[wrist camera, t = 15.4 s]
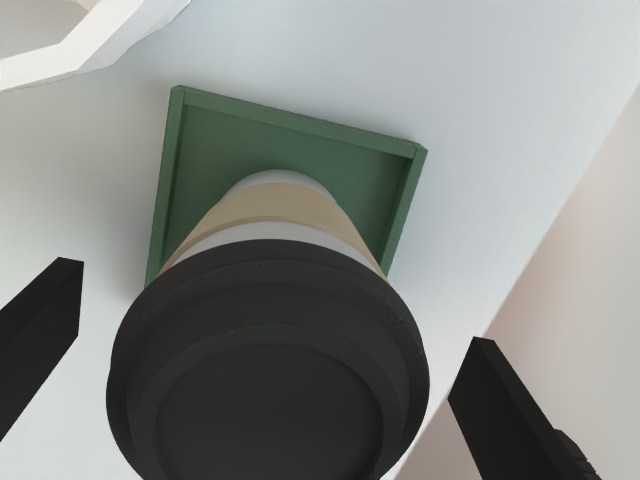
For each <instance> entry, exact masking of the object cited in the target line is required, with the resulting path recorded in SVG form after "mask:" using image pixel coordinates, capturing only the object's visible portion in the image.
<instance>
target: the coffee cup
mask: <svg viewBox="0 0 640 480" xmlns="http://www.w3.org/2000/svg"><path fill="white" fill-rule="evenodd" d="M429 389H430V377H429V368H428V363H427V358H426V355H425V352H424V347H423V342H422V338H421V335H420V332H419V329H418V327H417V324H416V322H415V320H414V318H413V316H412V314H411V312H410V310H409V309H408V307H407V306H406V304H405V303H404V301H403V300H402V299H401V297H400V296H399V295H398V294H397V292H396V291H395V290H394V289H393V288H392V287H391V286H390V285H389V283H388V281H387V279H386V277H385V275H384V273H383V272H382V270H381V269H380V267H379V265H378V264H377V262H376V261H375V259H374V257H373V256H372V254H371V252H370V251H369V249H368V248H367V246H366V244H365V243H364V241H363V240H362V238H361V236H360V235H359V233H358V231H357V230H356V228H355V227H354V225H353V223H352V222H351V220H350V219H349V217H348V216H347V215H346V213H345V212H344V211H343V210H342V209H341V208H340V207H339V206H338V205H337V203H336V201H335V200H334V198H333V196H332V195H331V194H330V193H329V191H328V190H327V189H326V188H325V187H324V186H323V185H322V184H320V183H319V182H318V181H316V180H315V179H313V178H311V177H309V176H307V175H305V174H302V173H300V172H296V171H292V170H285V169H272V170H265V171H261V172H257V173H254V174H251V175H249V176H247V177H245V178H243V179H242V180H240V181H239V182H237V183H236V184H235V185H233V186H232V187H231V188H230V189H229V190H228V191H227V192H226V194H225V195H224V196H223V197H222V199H221V200H220V201H219V202H218V203H217V204H216V205H214V206H213V207H212V208H211V209H210V210H209V211H208V213H207V214H206V215H205V216H204V217H203V218H202V220H201V221H200V222H199V223H198V224H197V226H196V227H195V228H194V229H193V231H192V232H191V233H190V234H189V235H188V237H187V238H186V239H185V240H184V241H183V243H182V244H181V245H180V246H179V247H178V249H177V250H176V251H175V252H174V254H173V255H172V256H171V257H170V258H169V260H168V261H167V262H166V263H165V264H164V266H163V267H162V269H161V270H160V271H159V273H158V275H157V276H156V278H155V280H154V281H152V282H151V283H150V284H149V285H148V286H147V287H146V288H145V289H144V290H143V291H142V292H141V294H140V295H139V296H138V297H137V298H136V300H135V301H134V302H133V304H132V305H131V307H130V308H129V309H128V311H127V313H126V315H125V316H124V318H123V320H122V322H121V325H120V327H119V329H118V332H117V334H116V337H115V341H114V344H113V349H112V355H111V365H110V372H109V376H108V381H107V388H106V409H107V416H108V421H109V425H110V428H111V431H112V434H113V437H114V439H115V441H116V444H117V445H118V447H119V449H120V451H121V453H122V454H123V456H124V457H125V459H126V460H127V462H128V463H129V464H130V465H131V467H132V468H133V469H134V470H135V471H136V472H137V474H138V475H139V476H140V477H141V478H142V479H143V480H380V478H381V477H382V476H383V475H384V474H386V473H387V472H388V471H389V470H390V469H391V468H392V467H393V466H394V465H395V464H396V463H397V461H398V460H399V459H400V458H401V457H402V456H403V454H404V453H405V452H406V450H407V449H408V448H409V446H410V445H411V443H412V441H413V440H414V438H415V436H416V435H417V433H418V431H419V428H420V426H421V424H422V421H423V419H424V416H425V412H426V409H427V404H428V399H429Z"/></svg>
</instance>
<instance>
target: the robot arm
mask: <svg viewBox="0 0 640 480" xmlns="http://www.w3.org/2000/svg"><path fill="white" fill-rule="evenodd" d="M83 269H84V262H83V261H78V260H72V259H67V258H62V257H58V258H57V259H56V260H55V261H53V262H52V263H51V264H50V265H49V266H48V267H47V268H46V269H45V270H44V271H43V272H42V273H40V274H39V275H38V276H37V277H36V278H35V279H34V280H33V281H32V282H31V283H30V284H28V285H27V286H26V287H25V288H24V289H23V290H22V291H21V292H20V293H19V294H18V295H16V296H15V297H14V298H13V299H12V300H11V301H10V302H9V303H8V304H7V305H6V306H4V307H3V308H2V309H1V310H0V442H1V441H2V439H3V438H4V436H5V435H6V434H7V432H8V431H9V430H10V428H11V427H12V426H13V424H14V423H15V421H16V420H17V419H18V417H19V416H20V415H21V413H22V412H23V410H24V409H25V408H26V406H27V405H28V404H29V402H30V401H31V399H32V398H33V397H34V395H35V394H36V393H37V391H38V390H39V389H40V387H41V386H42V384H43V383H44V382H45V380H46V379H47V378H48V376H49V375H50V373H51V372H52V371H53V369H54V368H55V367H56V365H57V364H58V362H59V361H60V360H61V358H62V357H63V356H64V354H65V353H66V352H67V350H68V349H69V347H70V346H71V345H72V343H73V342H74V341H75V339H76V338H77V336H78V330H79V318H80V306H81V294H82V282H83ZM448 402H449V404H450V406H451V409H452V411H453V413H454V415H455V417H456V420H457V422H458V425H459V427H460V429H461V431H462V433H463V436H464V438H465V441H466V443H467V445H468V447H469V450H470V452H471V454H472V457H473V459H474V461H475V463H476V466H477V468H478V470H479V473H480V475H481V477H482V479H483V480H602V479H601V478H600V477H599V475H597V474H596V471H595V470H594V468H593V467H592V465H591V464H590V463H589V462H587V458H586V457H585V455H584V454H583V453H582V451H581V450H580V448H579V447H578V446H577V444H576V443H575V442H574V441H572V440H571V439H570V438H569V437H568V436H567V435H566V434H565V433H564V432H563V431H561V430H557V429H554V428H553V427H552V425H551V424H550V422H549V421H548V420H547V418H546V417H545V415H544V414H543V412H542V411H541V409H540V408H539V406H538V405H537V403H536V402H535V400H534V399H533V397H532V396H531V395H530V393H529V391H528V390H527V389H526V387H525V386H524V384H523V383H522V381H521V380H520V378H519V377H518V375H517V374H516V372H515V371H514V370H513V368H512V366H511V365H510V364H509V362H508V361H507V359H506V358H505V356H504V355H503V353H502V352H501V351H500V349H499V347H498V346H497V344H496V343H495V341H494V340H490V339H485V338H480V337H474V336H473V339H472V341H471V343H470V346H469V348H468V351H467V353H466V355H465V358H464V360H463V363H462V365H461V367H460V370H459V372H458V375H457V377H456V379H455V382H454V384H453V387H452V389H451V391H450V394H449V396H448Z"/></svg>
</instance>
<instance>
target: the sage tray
mask: <svg viewBox="0 0 640 480" xmlns="http://www.w3.org/2000/svg"><path fill="white" fill-rule="evenodd" d="M427 152H428V150H427V149H426V148H424V147H423V146H421V145H420V144H419V143H414V142H410V141H406V140H402V139H398V138H394V137H390V136H386V135H382V134H378V133H374V132H369V131H365V130H361V129H357V128H353V127H349V126H345V125H341V124H337V123H333V122H328V121H324V120H320V119H316V118H312V117H308V116H304V115H300V114H296V113H292V112H288V111H283V110H279V109H275V108H271V107H267V106H263V105H259V104H255V103H251V102H247V101H242V100H238V99H234V98H230V97H226V96H222V95H218V94H214V93H210V92H206V91H202V90H197V89H193V88H189V87H185V86H181V85H178V86H176V87H173V88H171V93H170V100H169V108H168V115H167V122H166V130H165V137H164V145H163V152H162V160H161V167H160V174H159V182H158V189H157V197H156V204H155V211H154V219H153V226H152V234H151V241H150V249H149V256H148V263H147V271H146V278H145V286H144V289H145V288H146V287H147V286H148V285H149V284H150V283H151V282H152V281H154V280H155V278H156V276H157V275H158V273H159V271H160V270H161V269H162V267H163V266H164V264H165V263H166V262H167V261H168V260H169V258H170V257H171V256H172V255H173V254H174V252H175V251H176V250H177V249H178V247H179V246H180V245H181V244H182V243H183V241H184V240H185V239H186V238H187V237H188V235H189V234H190V233H191V232H192V231H193V229H194V228H195V227H196V226H197V224H198V223H199V222H200V221H201V220H202V218H203V217H204V216H205V215H206V214H207V213H208V211H209V210H210V209H211V208H212V207H213V206H214V205H216V204H217V203H218V202H219V201H220V200H221V199H222V197H223V196H224V195H225V194H226V192H227V191H228V190H229V189H230V188H231V187H232V186H233V185H235V184H236V183H237V182H239V181H240V180H242V179H243V178H245V177H247V176H249V175H251V174H254V173H257V172H261V171H265V170H272V169H285V170H292V171H296V172H300V173H302V174H305V175H307V176H309V177H311V178H313V179H315V180H316V181H318V182H319V183H320V184H322V185H323V186H324V187H325V188H326V189H327V190H328V191H329V193H330V194H331V195H332V196H333V198H334V200H335V201H336V203H337V205H338V206H339V207H340V208H341V209H342V210H343V211H344V212H345V213H346V215H347V216H348V217H349V219H350V220H351V222H352V223H353V225H354V227H355V228H356V230H357V231H358V233H359V235H360V236H361V238H362V240H363V241H364V243H365V244H366V246H367V248H368V249H369V251H370V252H371V254H372V256H373V257H374V259H375V261H376V262H377V264H378V265H379V267H380V269H381V270H382V272H383V273H384V275H385V277H386V279H387V276H388V273H389V269H390V266H391V263H392V260H393V257H394V254H395V251H396V248H397V245H398V242H399V239H400V236H401V232H402V229H403V226H404V223H405V220H406V217H407V214H408V211H409V208H410V205H411V202H412V199H413V196H414V192H415V189H416V186H417V183H418V180H419V177H420V174H421V171H422V168H423V165H424V162H425V159H426V155H427Z"/></svg>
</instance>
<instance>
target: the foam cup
mask: <svg viewBox="0 0 640 480" xmlns="http://www.w3.org/2000/svg"><path fill="white" fill-rule="evenodd" d="M190 2H191V0H0V92H5V91H11V90H17V89H23V88H30V87H36V86H40V85H43V84H47V83H51V82H54V81H58V80H62V79H65V78H69V77H72V76H76V75H80V74H83V73H87V72H91V71H94V70H98V69H101V68H105V67H109V66H112V65H113V64H114V63H115V62H116V61H117V60H118V59H119V58H120V57H121V56H122V55H123V54H124V53H125V52H126V51H127V50H128V49H129V48H130V47H131V46H132V45H133V44H135V43H136V42H138V41H140V40H142V39H144V38H145V37H147V36H149V35H151V34H152V33H154V32H156V31H158V30H160V29H161V28H163V27H165V26H167V25H168V24H169V23H170V22H171V21H172V20H173V19H174V18H175V17H176V16H177V15H178V14H179V13H180V12H181V11H182V10H183V9H184V8H185V7H186V6H187V5H188V4H189V3H190Z"/></svg>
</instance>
